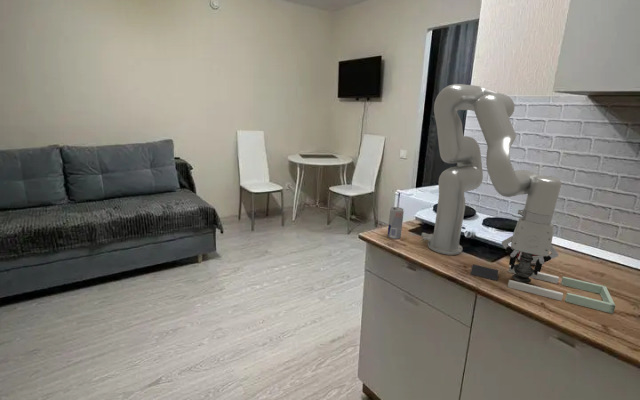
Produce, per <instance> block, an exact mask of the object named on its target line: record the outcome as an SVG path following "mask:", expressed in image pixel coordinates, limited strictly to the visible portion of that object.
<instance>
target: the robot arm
mask: <svg viewBox="0 0 640 400" xmlns="http://www.w3.org/2000/svg"><path fill="white" fill-rule="evenodd" d="M459 110H460V111H473V112H474V114H475V117H476V119H477V121H478V125H479V127H480V129H481V132H482V135H483V137H484V140H485V143H486V146H487V147H486V148H487V149H486V160H485V161H486V162H485V163H486V170H487V173H488V175H489V179H490V181H491V183H492V184H491V185H492V186H493V188H494V189H495V191H496V192H497V193H498V195H500V196H502V197H506V198H513V197H517V196H521V195H522V196H523V195H526V201H525V205H524V208H523V209H518V210H517V215H520V217H519V218H518V220H517V223H516V225H515V228H514V230H513V233H512V235H511V236H509V237H507V238H505V239H504V240H502V241H501V246H503V247H504V249H505V250H506V251H507V253H508V254H509V256H510V257H509V262H508V265H510V266H511V269H513V268H514V265H515V264H516V260H517V255H518V252H524V253H528V254H533V255H537V256H538V257H539V259H538V260H537V261H536V264H534V268H533V269H534V271H535V272H534V274H535V275H537V273H538V272H541V271H542V267H543V264H545V263H547V262H549V261H551V260H552V259H555V258H558V257H559V252H557V250H556V249H555V247H554V246H553V245H552V242H553V236H554V230H555V228H554V224H553V222H552V221H553V218H554V214H555V209H556V206H557V202H558V198H559V195H560V191H561V188H562V187H561V186H562V181H561V180H560V179H559V178H558V177H557V178H556V177H554V176H549V175H542V174H541V175H540V174H537V173H535V172H533V171H530V170H525V169H519V170H514V168H513V167H514V166H513V164H512V162H511V157H510V150H511V147H512V145H513V144H514V142H515V141H516V137H517V135H516V131H515V129H514V127H513V123H512V122H511V119H510V117H512V116H513V114H514V112H515V103H514V101H513V99H512V98H511V97H510V96H509V95H507V94H504V93H501V92H499V91H498V92H497V91H494V90H491V89H488V88H486V87H482V86H480V85H472V84H471V85H470V84H465V83H455V84H450V85H447V86H446V87H443V88H442V89H441V90H440V91H439V92H438V94H437V96H436V98H435V101H434V104H433V113H434V119H435V122H436V129H437V131H436V132H437V133H436V134H437V140H438V149H439V156H440V158H441V159H440V160H442V161H443V163H446V164H457V165H456V166H451V167H449V168H446V169H445V170H443V171H442V172H441V174H440V175H439V177H438V201H437V209H436V213H435V214H436V215H435V222H434V229H433V233H430V234H429V233H426V232H421V238H423V240H424V241H428V242H427V247H428V248H429V249H430V250H432V251H433V252H435V253H438V254H442V255H448V256H454V255H455V256H456V255H460V254H462V252H463V246H462V245H460V239H461V232H462V227H463V223H464V222H463V221H464V216H465V211H466V197H465V193H466V192H469V191H474V190H476V189H478V188H479V187H481V185H482V183H483V179H484V173H483V172H484V171H483V163H482V156H481V155H482V154H481V148H480V145H479V142H477V140H476V139H475V138H474V137H471V136H467V135H464V131H463V129H464V128H463V123H462V120H461V117H460V115H459V113H458V111H459ZM510 243H511V245H509V244H510Z"/></svg>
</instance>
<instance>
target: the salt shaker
mask: <svg viewBox="0 0 640 400" xmlns="http://www.w3.org/2000/svg"><path fill="white" fill-rule="evenodd" d="M532 256H533V254H528V253H524V252H523V253H522V255H520V257H521V260H519V263H515V264H514V271H515V273H516V274H514V273H512V274H511V275H512V276H511V277H512V279H514V281H517V282H521V283H525V284H528V283H531V281H532V280H531V277H530V276H531V275H532V274H533V273H534V272H535V271H534V268H532V265H531V261H532V260H533V258H532Z"/></svg>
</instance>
